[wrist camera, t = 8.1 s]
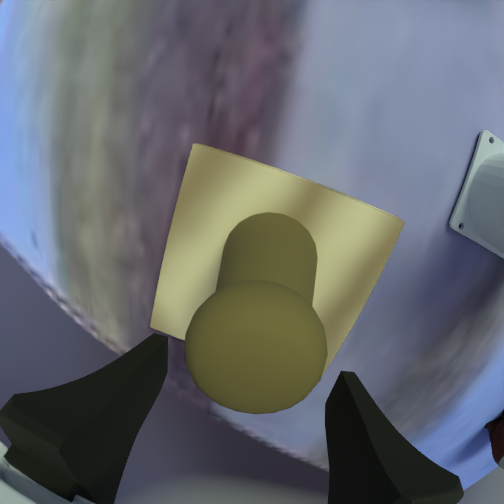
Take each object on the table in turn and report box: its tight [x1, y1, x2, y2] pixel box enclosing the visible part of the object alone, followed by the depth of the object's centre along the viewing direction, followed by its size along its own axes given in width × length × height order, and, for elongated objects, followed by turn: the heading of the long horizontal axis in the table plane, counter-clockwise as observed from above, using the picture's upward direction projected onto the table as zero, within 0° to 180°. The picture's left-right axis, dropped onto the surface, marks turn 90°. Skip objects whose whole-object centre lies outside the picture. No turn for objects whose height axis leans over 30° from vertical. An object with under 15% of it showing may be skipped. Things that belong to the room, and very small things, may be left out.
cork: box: [185, 212, 328, 414], centre depth 14 cm, size 6×6×11 cm
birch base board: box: [150, 144, 405, 376], centre depth 21 cm, size 14×14×2 cm
